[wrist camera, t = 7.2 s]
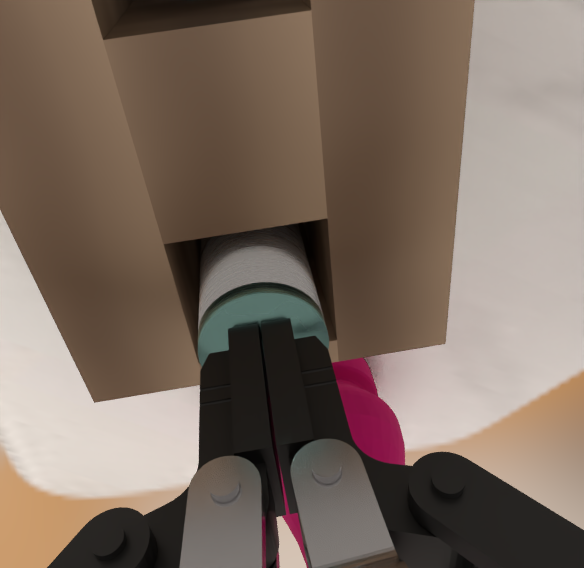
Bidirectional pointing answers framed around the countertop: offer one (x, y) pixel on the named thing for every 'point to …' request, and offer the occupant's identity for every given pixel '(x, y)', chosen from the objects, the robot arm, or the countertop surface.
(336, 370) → the pepper mill
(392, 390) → the countertop surface
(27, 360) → the countertop surface
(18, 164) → the walnut block
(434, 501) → the robot arm
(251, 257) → the peg
